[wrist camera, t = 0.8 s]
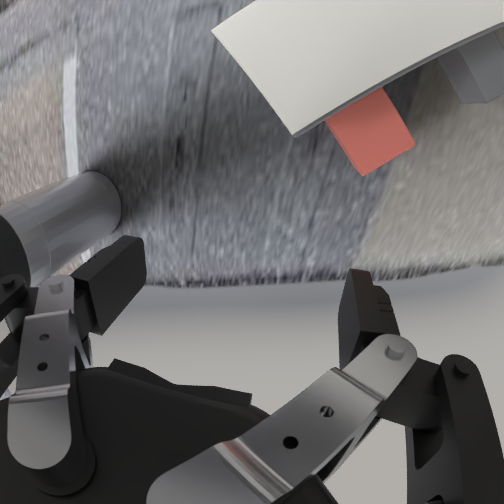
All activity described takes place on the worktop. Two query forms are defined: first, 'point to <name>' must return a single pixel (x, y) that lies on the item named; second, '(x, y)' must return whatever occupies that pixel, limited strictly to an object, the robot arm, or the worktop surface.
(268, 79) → the push button box
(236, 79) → the worktop surface
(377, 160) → the red button
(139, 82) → the worktop surface
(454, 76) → the grey button
